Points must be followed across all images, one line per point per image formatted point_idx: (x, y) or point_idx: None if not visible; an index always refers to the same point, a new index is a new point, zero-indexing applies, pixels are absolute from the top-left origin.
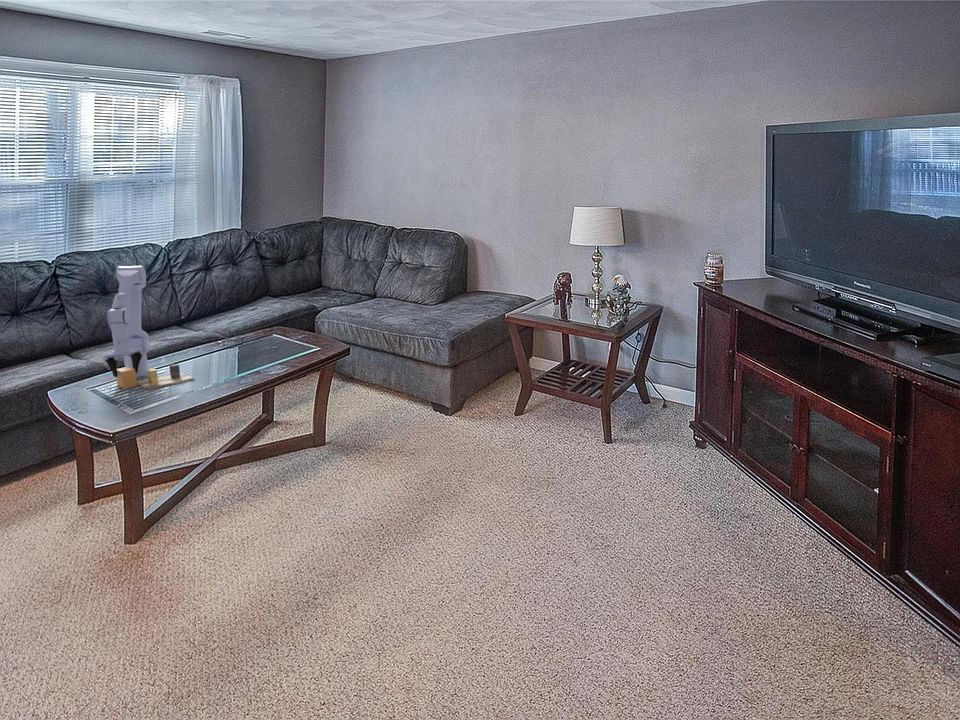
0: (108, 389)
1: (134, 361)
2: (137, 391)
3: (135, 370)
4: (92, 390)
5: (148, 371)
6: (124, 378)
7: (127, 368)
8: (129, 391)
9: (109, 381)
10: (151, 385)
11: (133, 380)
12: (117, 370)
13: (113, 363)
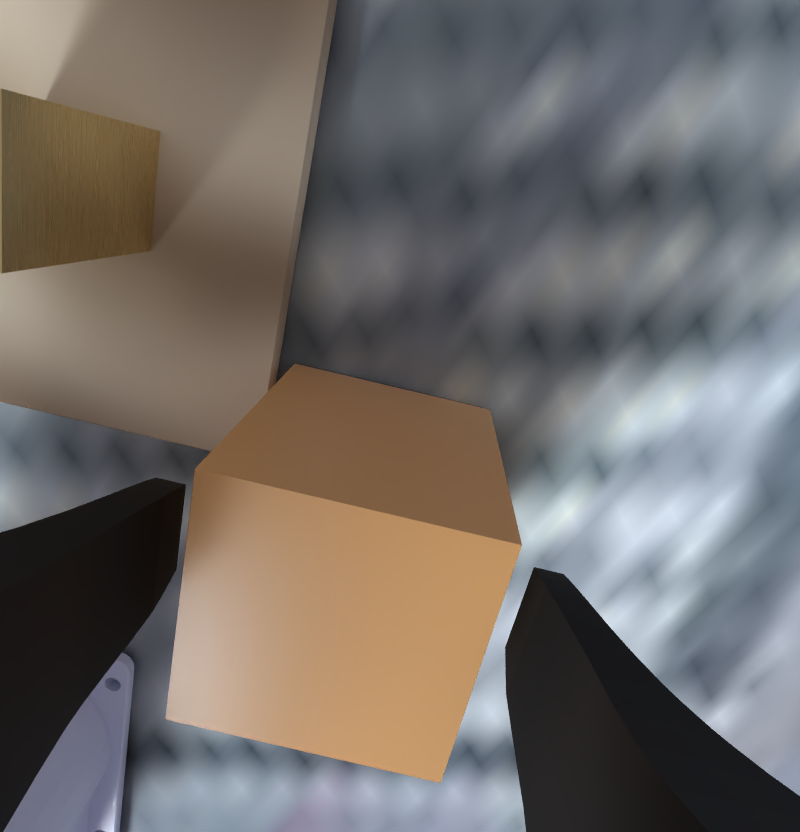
0: (594, 557)
1: (25, 669)
2: (482, 93)
3: (163, 517)
4: (705, 681)
5: (17, 196)
6: (461, 460)
7: (269, 636)
8: (539, 218)
9: (362, 779)
10: (221, 28)
11: (320, 398)
12: (468, 699)
13: (788, 820)
